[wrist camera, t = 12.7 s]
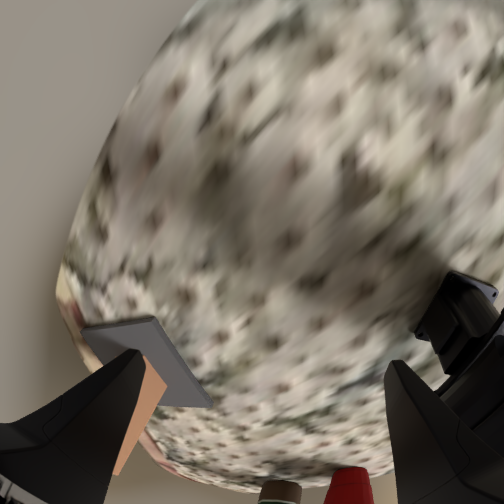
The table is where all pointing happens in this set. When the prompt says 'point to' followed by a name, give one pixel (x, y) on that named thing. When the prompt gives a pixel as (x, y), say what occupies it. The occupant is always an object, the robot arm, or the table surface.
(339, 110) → the table surface
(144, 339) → the mat
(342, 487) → the plastic cup
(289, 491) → the beer bottle
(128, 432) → the block
